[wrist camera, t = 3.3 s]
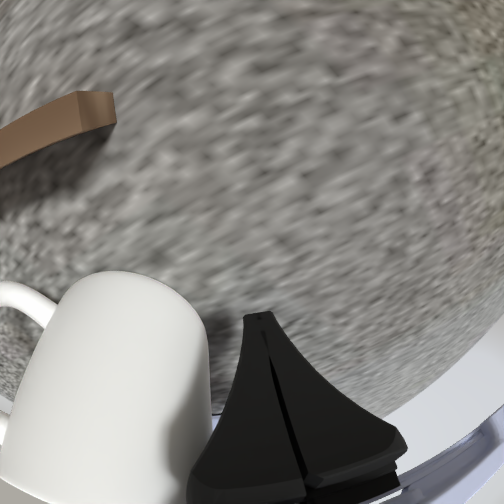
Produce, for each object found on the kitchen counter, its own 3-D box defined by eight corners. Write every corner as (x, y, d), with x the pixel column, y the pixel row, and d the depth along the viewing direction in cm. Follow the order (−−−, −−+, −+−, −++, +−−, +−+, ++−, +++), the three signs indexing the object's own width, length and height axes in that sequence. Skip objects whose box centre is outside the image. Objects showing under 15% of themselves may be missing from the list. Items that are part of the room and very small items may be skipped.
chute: (206, 400, 18) (208, 436, 15) (29, 393, 16) (21, 418, 14) (112, 92, 8) (76, 90, 5) (-81, 206, 6) (-106, 226, 4)
